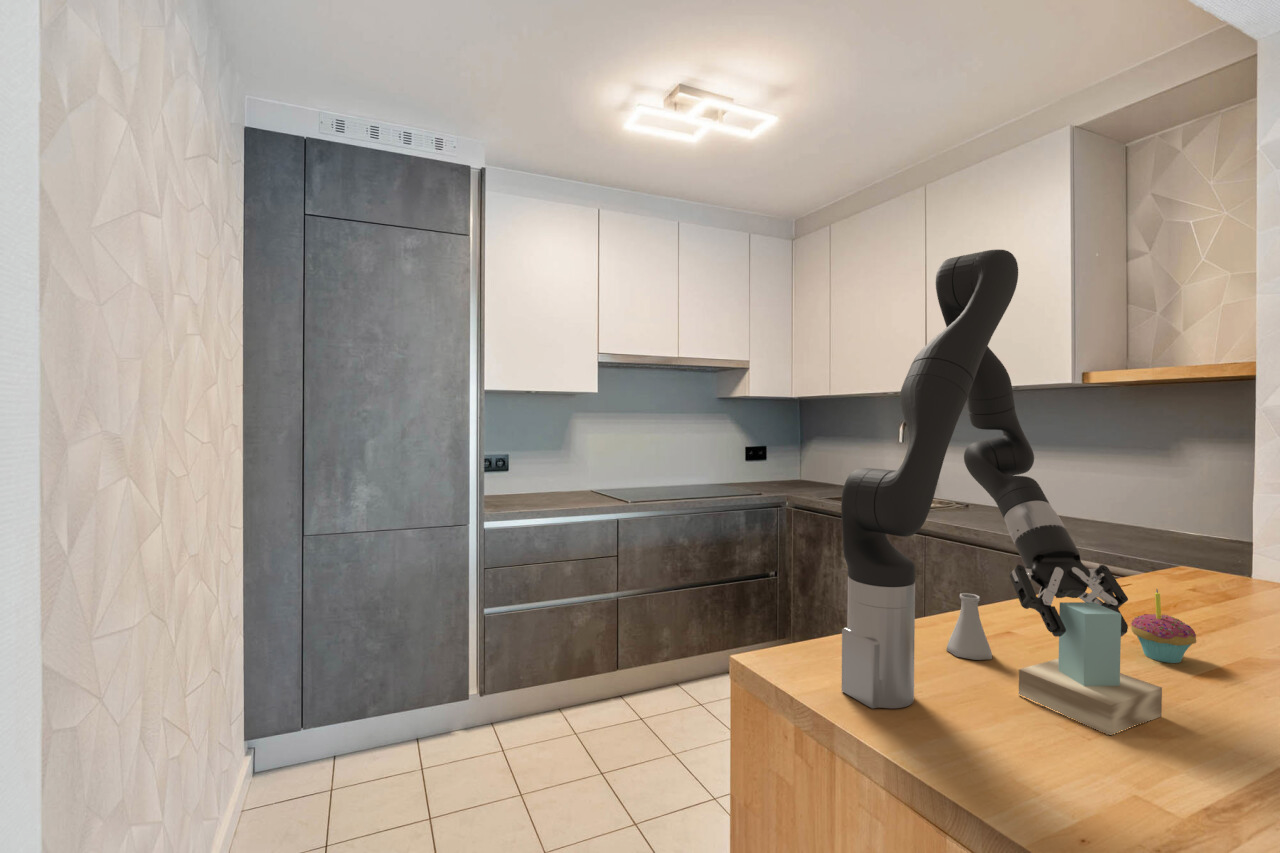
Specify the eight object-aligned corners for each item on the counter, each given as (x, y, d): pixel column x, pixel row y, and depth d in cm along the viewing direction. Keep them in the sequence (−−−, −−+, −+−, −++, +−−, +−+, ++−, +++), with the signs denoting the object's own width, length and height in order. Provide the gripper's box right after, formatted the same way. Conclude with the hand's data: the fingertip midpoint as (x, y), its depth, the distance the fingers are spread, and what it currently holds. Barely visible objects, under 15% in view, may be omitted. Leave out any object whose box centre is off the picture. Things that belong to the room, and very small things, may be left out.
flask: (999, 663, 101) (1000, 603, 101) (952, 659, 103) (953, 600, 102) (984, 646, 108) (985, 591, 108) (940, 643, 110) (941, 588, 109)
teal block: (1119, 685, 84) (1121, 613, 84) (1083, 686, 84) (1085, 613, 84) (1092, 670, 89) (1093, 602, 89) (1058, 670, 89) (1059, 602, 89)
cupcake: (1180, 671, 98) (1182, 597, 98) (1119, 653, 105) (1120, 584, 105) (1205, 661, 102) (1207, 590, 101) (1144, 644, 109) (1145, 577, 109)
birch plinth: (1110, 736, 78) (1110, 705, 78) (1018, 696, 89) (1019, 669, 89) (1161, 716, 84) (1162, 687, 83) (1068, 681, 94) (1069, 655, 94)
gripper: (1004, 523, 94) (1053, 622, 83) (1097, 523, 94) (1158, 622, 83) (985, 549, 100) (1028, 646, 89) (1072, 549, 100) (1126, 646, 88)
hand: (1091, 634), depth 86 cm, fingers open, 8 cm apart
